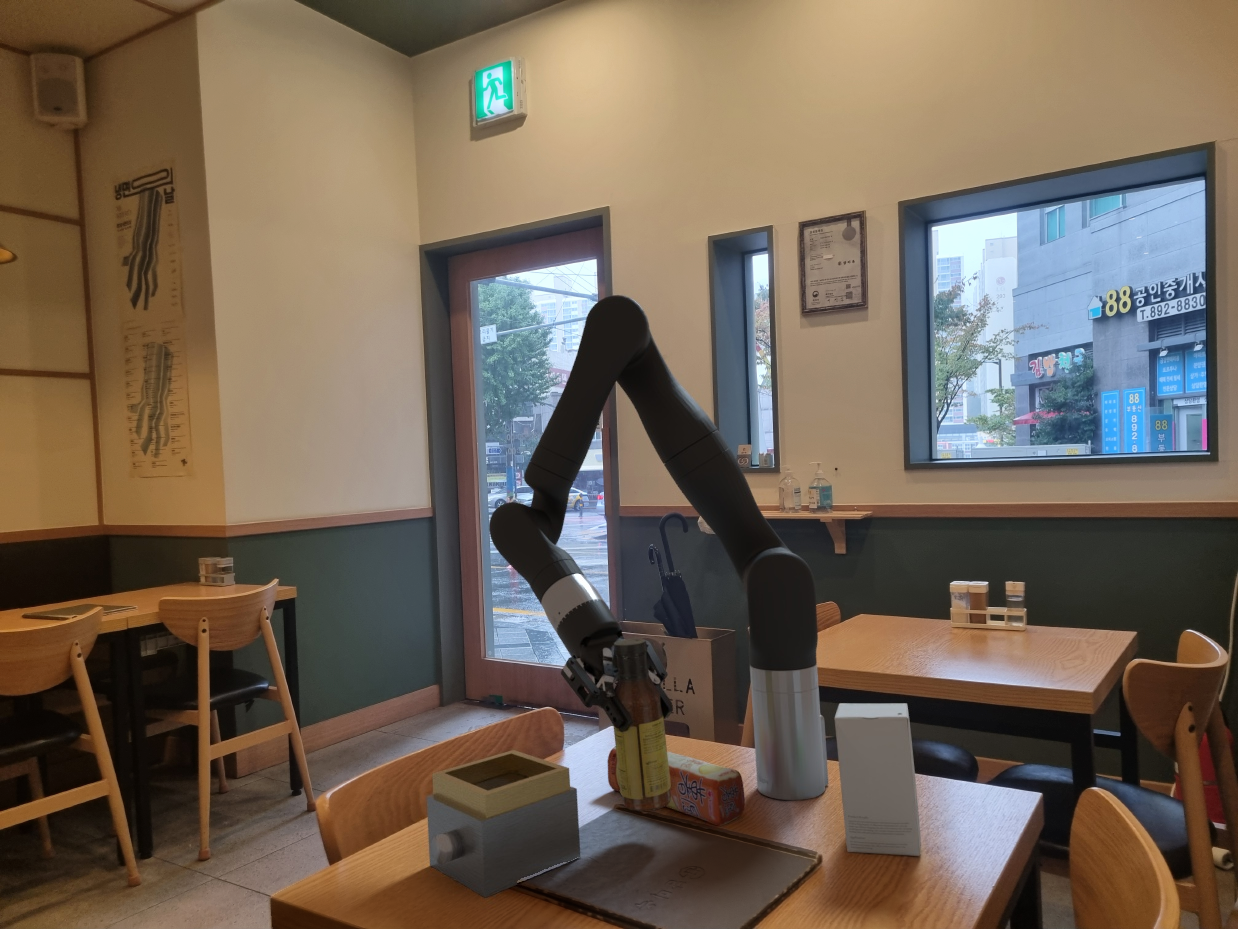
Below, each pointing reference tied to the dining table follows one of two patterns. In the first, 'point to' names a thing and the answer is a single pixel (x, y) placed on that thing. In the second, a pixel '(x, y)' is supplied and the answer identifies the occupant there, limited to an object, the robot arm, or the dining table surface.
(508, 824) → the box
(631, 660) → the sauce bottle
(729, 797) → the snack package
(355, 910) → the dining table surface
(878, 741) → the skincare box
